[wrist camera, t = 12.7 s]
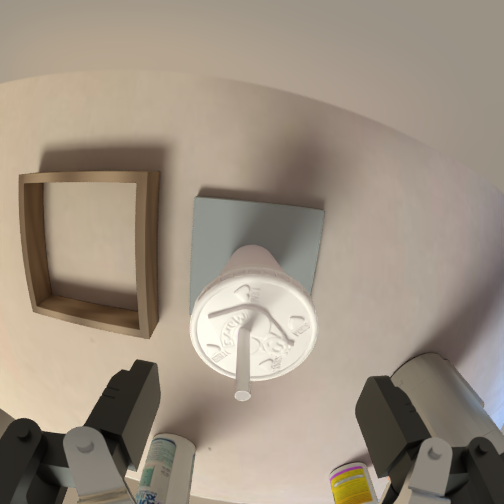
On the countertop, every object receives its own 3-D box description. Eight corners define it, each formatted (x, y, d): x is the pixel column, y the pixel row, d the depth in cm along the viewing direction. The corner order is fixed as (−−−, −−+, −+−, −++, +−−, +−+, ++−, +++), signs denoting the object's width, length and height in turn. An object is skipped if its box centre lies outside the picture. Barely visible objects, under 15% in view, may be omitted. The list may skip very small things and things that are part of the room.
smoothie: (232, 213, 21) (205, 293, 8) (306, 249, 22) (379, 361, 9) (199, 283, 23) (149, 417, 9) (269, 314, 24) (287, 456, 10)
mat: (321, 209, 22) (324, 211, 21) (302, 319, 25) (304, 324, 24) (196, 196, 22) (194, 197, 21) (191, 309, 24) (189, 314, 24)
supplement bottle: (321, 474, 34) (333, 535, 22) (355, 457, 33) (374, 519, 21) (340, 481, 36) (353, 535, 23) (371, 465, 34) (390, 520, 22)
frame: (160, 171, 21) (147, 172, 18) (158, 321, 25) (149, 339, 22) (38, 172, 20) (18, 174, 18) (48, 299, 24) (33, 311, 21)
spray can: (177, 459, 32) (158, 569, 13) (142, 439, 31) (110, 553, 11) (206, 449, 31) (194, 573, 12) (170, 427, 30) (140, 561, 10)
